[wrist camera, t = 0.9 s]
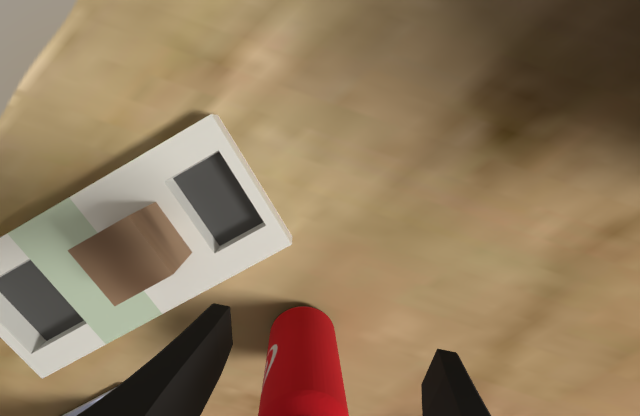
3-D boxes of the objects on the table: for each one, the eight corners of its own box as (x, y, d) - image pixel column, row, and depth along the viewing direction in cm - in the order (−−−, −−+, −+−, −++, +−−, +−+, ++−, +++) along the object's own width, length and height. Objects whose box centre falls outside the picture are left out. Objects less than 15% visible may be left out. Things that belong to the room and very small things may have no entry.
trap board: (58, 362, 30) (41, 378, 28) (-37, 263, 27) (-63, 274, 25) (292, 236, 28) (291, 244, 26) (218, 114, 25) (211, 113, 23)
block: (142, 279, 26) (114, 306, 22) (103, 231, 25) (67, 250, 21) (192, 252, 26) (173, 274, 22) (155, 201, 24) (128, 215, 21)
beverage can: (260, 341, 31) (234, 472, 19) (289, 291, 29) (281, 398, 18) (315, 365, 32) (322, 502, 20) (345, 318, 30) (372, 435, 19)
